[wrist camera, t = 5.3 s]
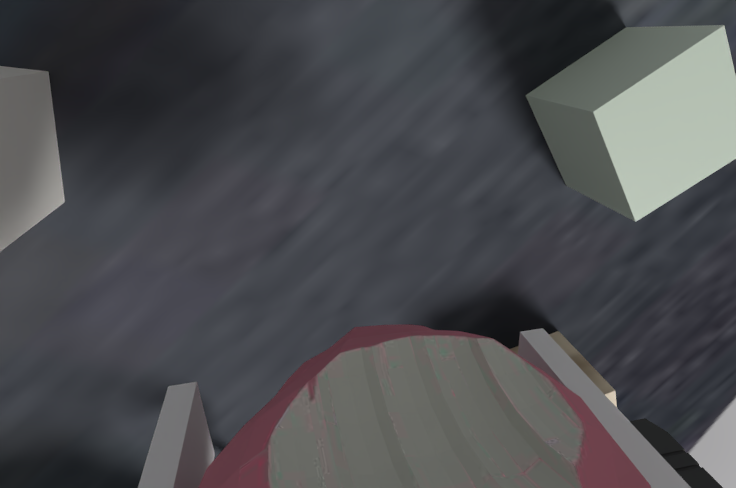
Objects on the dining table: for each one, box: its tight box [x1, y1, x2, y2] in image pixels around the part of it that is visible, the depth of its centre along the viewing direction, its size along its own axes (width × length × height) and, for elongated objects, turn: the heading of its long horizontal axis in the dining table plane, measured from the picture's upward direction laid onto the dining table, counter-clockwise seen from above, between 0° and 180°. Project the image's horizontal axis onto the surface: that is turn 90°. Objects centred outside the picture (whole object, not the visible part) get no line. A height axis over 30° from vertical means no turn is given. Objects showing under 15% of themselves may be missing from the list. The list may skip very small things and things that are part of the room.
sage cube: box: [525, 25, 736, 222], centre depth 19 cm, size 5×5×5 cm
